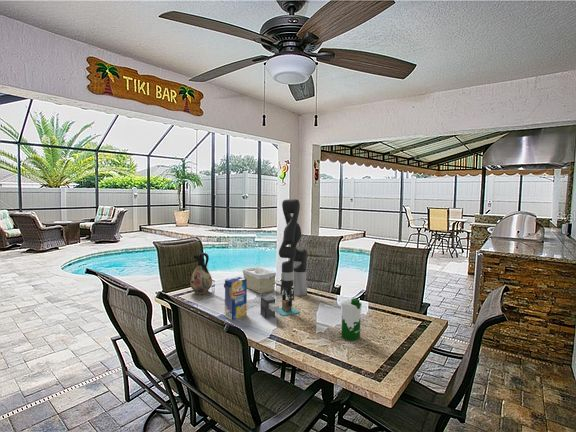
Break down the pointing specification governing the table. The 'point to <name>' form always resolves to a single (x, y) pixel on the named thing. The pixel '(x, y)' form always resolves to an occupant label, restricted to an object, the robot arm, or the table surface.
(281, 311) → the mat
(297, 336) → the table surface
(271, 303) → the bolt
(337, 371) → the table surface
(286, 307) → the block
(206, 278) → the ceramic jug
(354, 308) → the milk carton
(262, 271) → the storage basket
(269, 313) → the block
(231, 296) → the blue yellow food box
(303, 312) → the table surface
